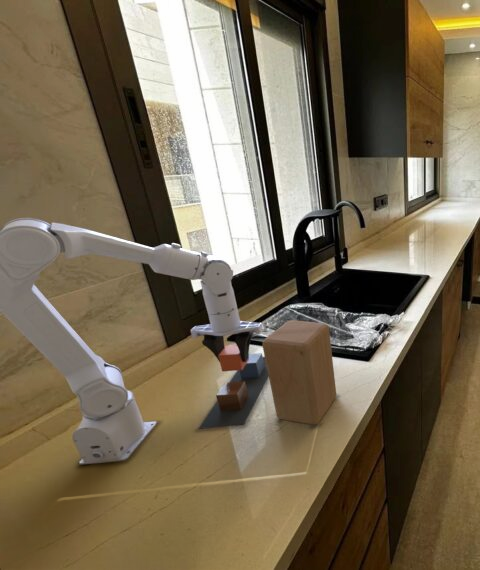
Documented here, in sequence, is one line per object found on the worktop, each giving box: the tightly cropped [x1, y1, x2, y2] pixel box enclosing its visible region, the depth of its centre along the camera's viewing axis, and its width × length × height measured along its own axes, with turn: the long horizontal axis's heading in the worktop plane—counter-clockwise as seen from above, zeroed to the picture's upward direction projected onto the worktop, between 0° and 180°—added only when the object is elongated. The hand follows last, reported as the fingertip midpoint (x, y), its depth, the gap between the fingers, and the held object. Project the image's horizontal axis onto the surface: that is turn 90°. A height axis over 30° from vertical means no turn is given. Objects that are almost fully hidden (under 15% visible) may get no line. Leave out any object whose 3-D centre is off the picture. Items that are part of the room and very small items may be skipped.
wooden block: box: [262, 319, 337, 426], centre depth 71 cm, size 10×10×20 cm
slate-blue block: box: [239, 352, 265, 378], centre depth 85 cm, size 4×4×4 cm
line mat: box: [198, 356, 269, 430], centre depth 81 cm, size 26×9×1 cm, turn 7°
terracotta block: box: [218, 344, 249, 372], centre depth 78 cm, size 4×4×4 cm
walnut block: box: [215, 381, 248, 411], centre depth 74 cm, size 4×4×4 cm
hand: (234, 360), depth 78 cm, fingers closed on terracotta block, 4 cm apart
